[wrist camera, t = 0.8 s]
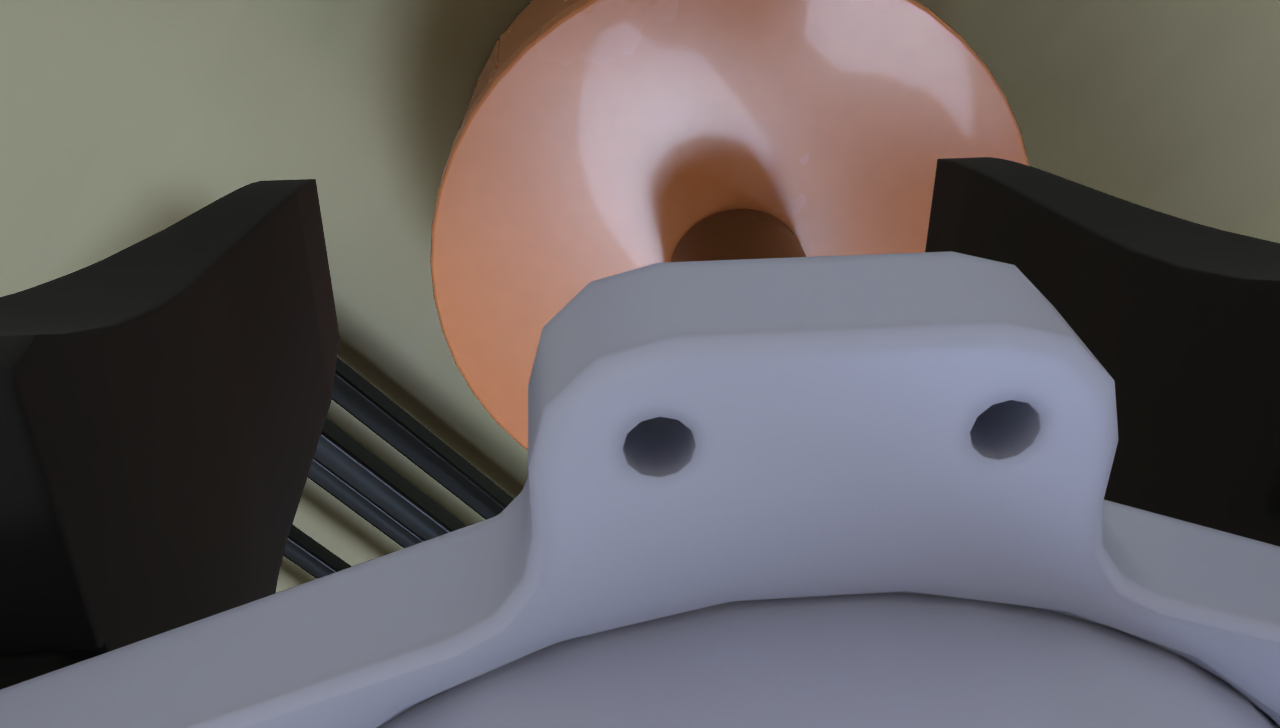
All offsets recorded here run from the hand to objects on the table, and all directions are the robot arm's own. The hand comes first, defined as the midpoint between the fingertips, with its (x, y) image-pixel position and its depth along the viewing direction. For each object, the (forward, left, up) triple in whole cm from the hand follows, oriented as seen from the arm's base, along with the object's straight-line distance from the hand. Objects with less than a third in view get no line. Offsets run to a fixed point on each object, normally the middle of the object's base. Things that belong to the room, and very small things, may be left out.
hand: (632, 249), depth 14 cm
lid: (-4, +1, -6) cm, 8 cm away
